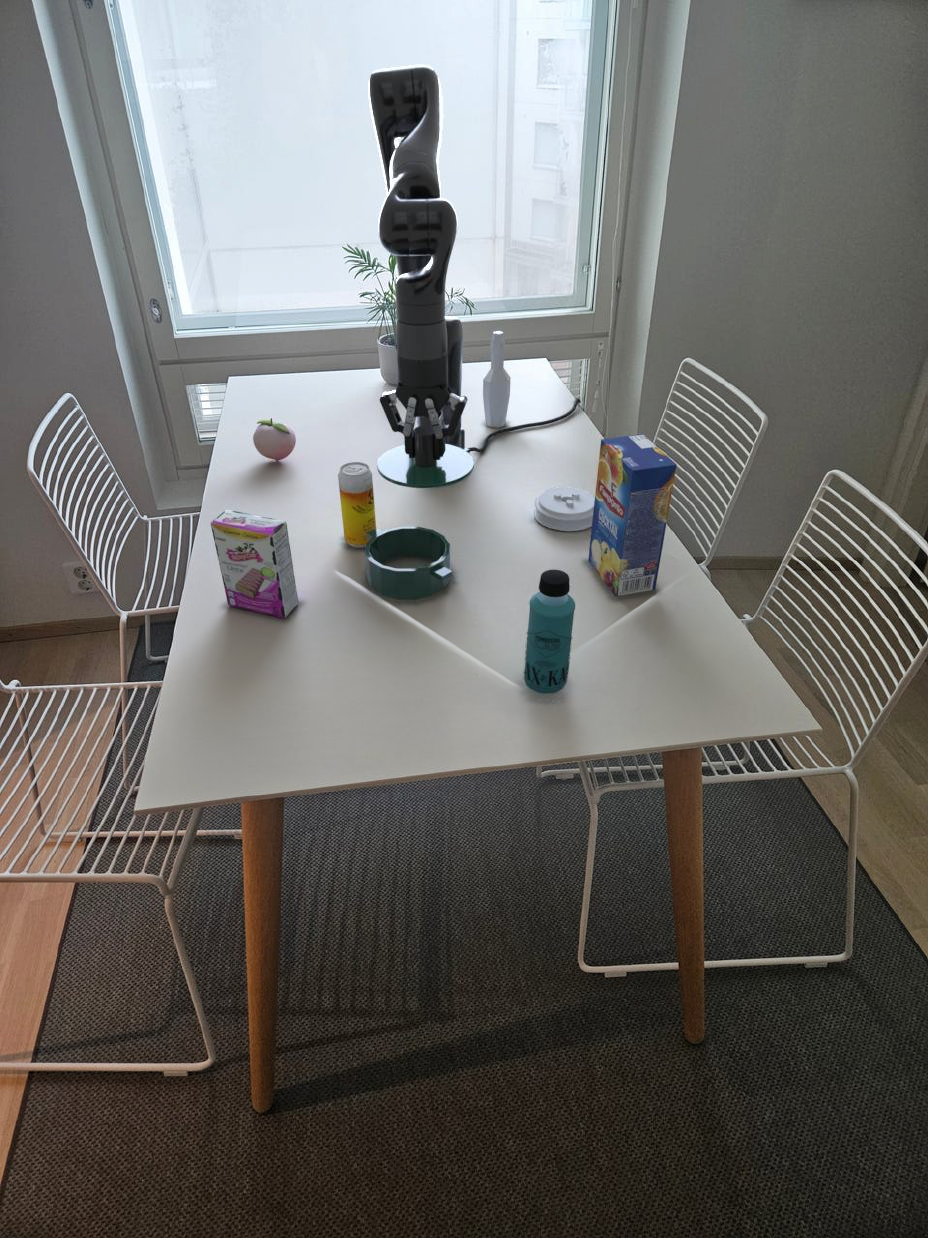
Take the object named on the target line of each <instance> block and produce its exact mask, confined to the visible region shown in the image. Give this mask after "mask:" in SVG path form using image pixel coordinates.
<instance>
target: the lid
mask: <svg viewBox="0 0 928 1238" xmlns="http://www.w3.org/2000/svg"><path fill="white" fill-rule="evenodd" d="M594 501H595V495H593V494H592V493H591V492H589V491H587V490H585V489H584V488H580V487H575V486H555V487H551V488H548V489H546V490H544V491H543V492H540V493H539V494H538V495H537V496H536V497H535V499H534V507H535V508H534V510H533V516H534V518H535V520H536V521H537V523H539V524H541V525H542V526H544V527H546V528H549V529H551V530H555V531H561V532H578V531H583V530H587V529H590V528H592V520H593V511H594Z"/></svg>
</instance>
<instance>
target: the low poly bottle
mask: <svg viewBox="0 0 928 1238" xmlns="http://www.w3.org/2000/svg"><path fill="white" fill-rule="evenodd" d="M489 344H490V369H489V370H488V372H487V373H486V374H485V376H484V378H483V380H482V402H483V410H484V419H485V420H484V421H485V425H486V426H488V427H489V428H498V429H499V428H502V427H504V426H505V425H506V423H507V422H506V421H507V416H508V411H509V410H508V409H509V403H510V396H511V375H510V374H509V373H508V372H507V370H506V369H505V367H504V362H505V349H506V348H505V347H506V338H505V333H504V331H501V330H494V331H493V332H492V335H491V339H490V342H489Z"/></svg>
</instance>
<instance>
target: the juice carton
mask: <svg viewBox="0 0 928 1238" xmlns="http://www.w3.org/2000/svg"><path fill="white" fill-rule="evenodd" d="M677 465H678V464H677V463H676V462H675V461H674V460H672V458H670V456H668V455H667V454H666V453H665V452H664V451H662V450H661V449H660V448H659V447H658V446H657V445H655V444H654V443H653V442H652V441H651V440H650V439H649V438H648V437H646V435H644V434H643V433H641V434H634V435H633V434H632V435H626V436H617V437H609V438H601V439H600V446H599V456H598V464H597V473H596V474H597V475H596V483H595V493H594V497H595V501H594V511H593V520H592V526H591V530H590V540H589V550H588V557H587V561H588V562H589V563H590V565H591V566H592V567H593V569H594V570H595V571H596V572H597V574H598V576H599V577H600V578H601V579H602V581H603V582H604V583H605V584H606V585H607V587H608V588H609V589H610V591H611V592H612V593H613V595H614V596H615V597H618V596H624V595H630V594H635V593H642V592H646V591H647V592H648V591H652V590H656V587H657V581H658V577H659V570H660V564H661V558H662V552H663V547H664V541H665V535H666V529H667V524H668V518H669V512H670V507H671V500H672V494H673V488H674V482H675V476H676V472H677Z"/></svg>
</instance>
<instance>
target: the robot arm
mask: <svg viewBox="0 0 928 1238" xmlns="http://www.w3.org/2000/svg"><path fill="white" fill-rule="evenodd" d="M368 99H369V107H370V113H371V119H372V123H373V129H374V133H375V138H376V141H377V148H378V152H379V157H380V162H381V168H382V172H383V177H384V182H385V190H386V197H385V198H384V201H383V204H382V206H381V209H380V212H379V217H378V225H377V226H378V237H379V240H380V244H381V245H382V247H383V249H384V250H385V251H386V252H388V253H389V254H390V255H393V256H395V260H396V266H397V271H398V277H397V278H396V280H395V285H394V291H395V313H396V315H395V316H396V326H395V343H394V344H395V350H396V368H397V386H396V388H395V389H394V390H392V391H389V390H385V391H384V392H383V393H382V394H381V396H380V398H379V402H380V405H381V407H382V410H383V412H384V414H385V416H386V419H387V421H388V424H389V426H390V428H391V430H392V432H394V433H401V434H402V435H403V439H404V441H403V442H404V445H405V452H406V454H409V458H414V438H413V430H414V429H415V425H417V426H416V427H419V426H431V427H433V429H434V432H435V436H436V437H435V439H434V443H435V460H440V458H441V457H443V455H444V453H445V450H446V449H445V444H449V445H453V446H456V447H459V448H461V449H463V450H465V451H466V452H468V453H469V454H470V455H471V452H476V453H482V452H484V451H485V449H486V447H487V445H488V442H489V440H490V439H492V438H493V437H496V436H497V435H500V434H505V433H507V432H508V433H509V432H513V431H517V430H522V429H526V428H534V427H541V426H546V425H551V424H553V423H555V422H559V421H561V420H564V419H566V418H567V417H569V416H571V415H572V414H573V413H574V412H575V410H576V409H577V407H578V404H581V402H582V401H581V399H580V398H578V397H577V398H575V399H574V402H573V405H572V407H571V409H570V410H569V411H567V412H566V413H563V414H562V415H560V416H558V417H554V418H551V419H546V420H543V421H538V422H531V423H524V424H519V425H514V426H510V427H505V428H502V429H498V430H496V431H495V430H494V432H490V433H489V434H488V435H487V436H486V437H485V438H484V440H483V442H482V445H481V447H480V448H478V447H475V446H472V447H466V445H465V444H466V439H465V438H466V431H465V429H464V428H462V415H463V413H464V410H465V408H466V405H467V403H468V396H466V395H462V383H463V382H462V381H463V356H464V355H463V353H464V327H463V323H462V321H461V320H460V318H458V317H455V316H447V315H446V283H447V274H448V270H449V264H450V260H451V256H452V253H453V250H454V245H455V241H456V238H457V233H458V216H457V213H456V210H455V208H454V206H453V204H452V203H451V202H450V201H449V200H447V199H445V198H441V195H442V193H441V181H440V170H439V157H440V156H439V155H440V148H441V143H442V130H443V118H444V113H443V112H444V109H443V96H442V88H441V83H440V79H439V76H438V74H437V71H436V70H435V69H434V68H433V67H432V66H430V65H426V64H412V65H407V66H398V67H389V68H387V67H386V68H381V69H376V70H374V71H372V72H371V73H370V76H369V79H368ZM398 139H402V140H401V141H400V142H398ZM397 399H398V400H397ZM398 401H399V402H400V403H401V405H402V406H403V407H404V409H405V410H406V412H405V417H404V421H403V419H402V417H401V415H400V412H399V410H398V408H397V405H396V404H397V402H398ZM416 422H417V423H416Z"/></svg>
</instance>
